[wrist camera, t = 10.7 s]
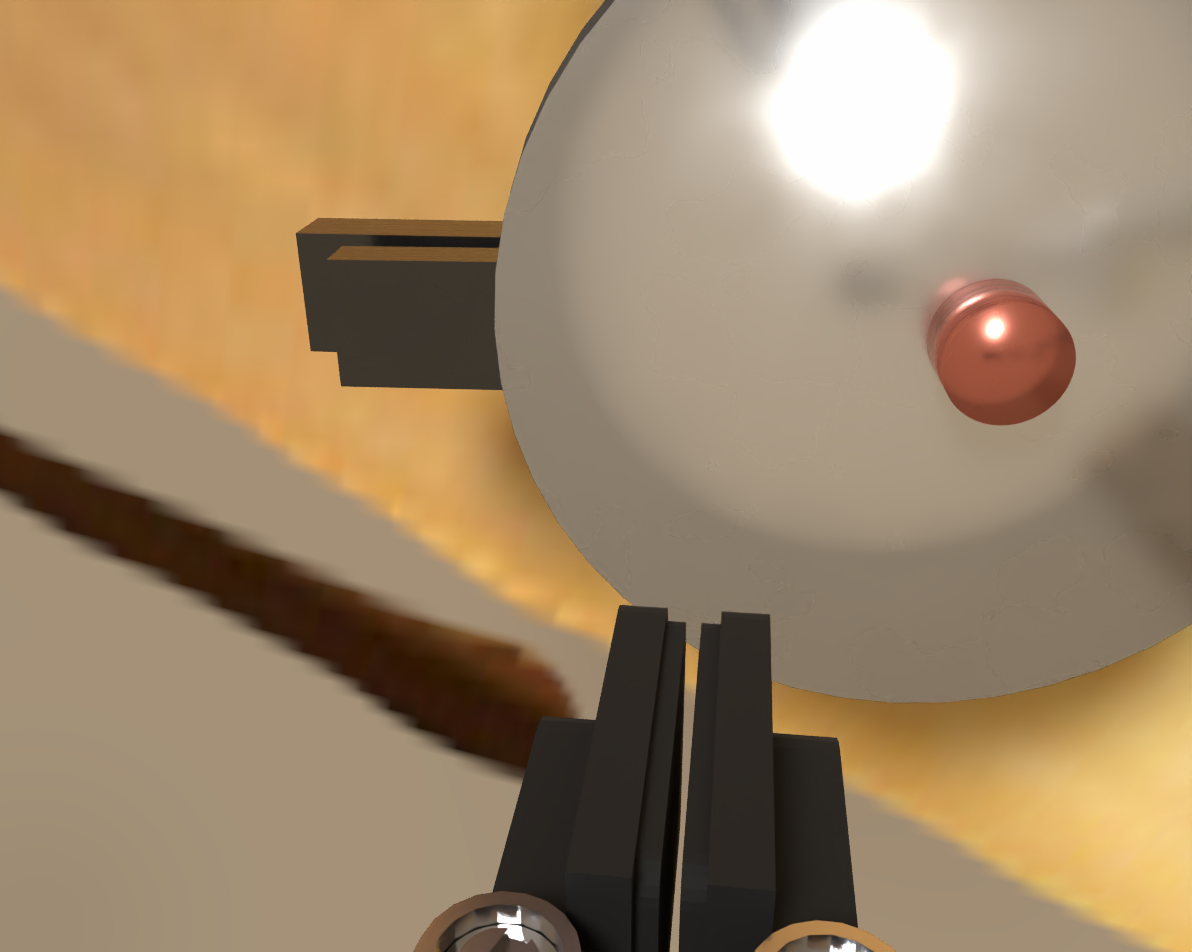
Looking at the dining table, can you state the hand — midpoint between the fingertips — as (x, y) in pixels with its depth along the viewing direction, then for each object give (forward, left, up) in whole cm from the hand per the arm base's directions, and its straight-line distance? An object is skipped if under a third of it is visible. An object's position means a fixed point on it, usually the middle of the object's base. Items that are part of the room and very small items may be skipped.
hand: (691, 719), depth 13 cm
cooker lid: (-3, 0, -15) cm, 15 cm away
